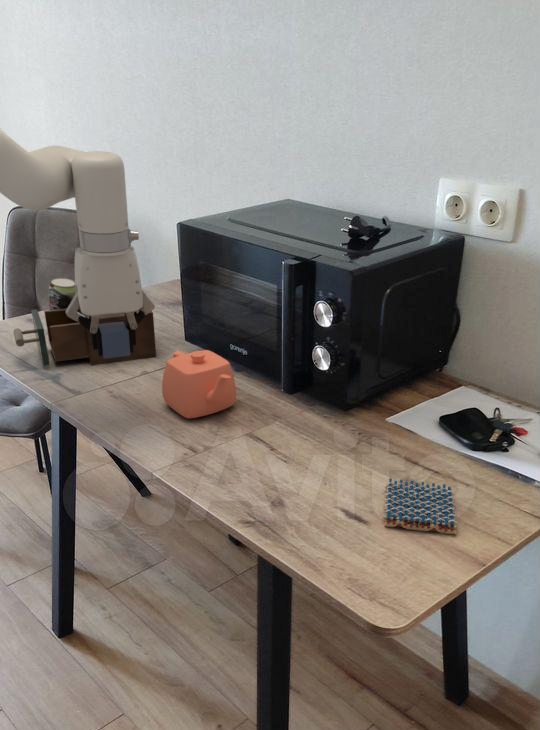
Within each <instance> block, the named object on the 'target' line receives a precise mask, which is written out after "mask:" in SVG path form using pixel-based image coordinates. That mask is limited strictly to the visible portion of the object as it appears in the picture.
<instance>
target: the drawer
mask: <svg viewBox="0 0 540 730" xmlns="http://www.w3.org/2000/svg"><path fill="white" fill-rule="evenodd" d="M30 310H31V311H30V312H31V317H32V324H33V329H25V330H21V329H20V328H14V329H13V331H12V332H13V336H14V341H15V345H16V346H17V347H21V348H22V347H23V346H25V344H31V343H36V346H37V349H38V353H39V356H40V360H41V363H42V366H43V367H47V366H48V367H49V366H50V364H51V363H50V358H49V352H48V347H47V340H46V335H45V328H44V325H43V322H42V320H41V317H40V314H39V311H38V309H37V308H36V309H30ZM66 310H67V308H65V309H56V310H49V309H48V310H44V312H43V313H44V317H45V325H46V331H47V336H48V342H49V346H50V349H51V352H52V355H53V357H54V360H55V362H63V361H72V360H78V359H79V360H80V359H88V357H89V349H88V341H87V334H86V328H85V327H84V326H83V325H81V324H80V323H79V322H77V321H75V320H73V319H71V318H69V317H68V316H67V314H66ZM77 312H79V313H80V311H79V309H78V311H77ZM80 314H81V313H80ZM29 334H34V336H35V337H33V338H26V339H24V335H29Z"/></svg>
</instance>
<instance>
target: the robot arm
mask: <svg viewBox="0 0 540 730" xmlns="http://www.w3.org/2000/svg"><path fill="white" fill-rule="evenodd" d="M126 185H127V184H126V172H125V164H124V160H123V159H122V158H121V156H119V155H118V154H117V153H114V152H109V151H101V150H100V151H99V150H96V151H95V150H93V151H83V150H78V149H75V148H71V147H67V146H63V145H49V146H44V147H41V148H39V149H34V150H32V151H31V150H30V151H28V150H26V149H25V148H24V147H22V146H21V145H20V144H18V143H17V142H16V141H15V140H14V139H12V138H11V137H10V136H9V135H8V134H7V133H6V132H4V131H3V130H2V129H1V128H0V194H1V195H2V196H4V197H5V198H6V199H8V201H10V202H12V203H13V204H15V205H16V206H19V207H21V208H22V209H23V208H24V209H26V210H29V211H36V212H37V211H39V212H40V211H43V210H46V209H49V208H51V207H53V206H54V205H57V204H59V203H61V202H64V201H68V200H71V199H74V198H75V199H74V200H75V209H76V218H77V228H78V237H79V238H78V239H79V247H76V248H75V250H74V282H75V289H76V294H75V296H74V298H73V300H72V301H71V303H70V305H69V306H68V308H67V310H66V314H67V316H68V317H69V318H71V319H73V320H75V321H77V322H79V323H80V324H81V325H83V326H84V327H85V328H87V329H88V330H89V331H90V334H91V343H92V348H93V350H96V351H97V353H98V355H99V356H102V355H103V350H102V340H101V333H100V331H99V328H98V323H99V316H100V315H108V314H118V313H124V314H125V317H126V320H127V321H126V324H125V326H126V328H127V329H128V331H129V344H130V353H131V352H133V345H136V334H135V329H136V328H137V325H138V324H139V323H140V322H141V321H142V319H143V318H144V317H145V315H147V314H148V313H149V312H151V311H152V312H153V310H154V309H155V308H156V306H155V304H154V302H152V300H151V299H150V298H149V297H148V296H147V294H146V293H145V292H144V291H143V289H142V282H141V275H140V268H139V263H138V258H137V254H136V251H135V248H134V246H133V245H132V243H133V242H134V241H138V240H140V238H139V235H140V234H139V231H138V230H133V229H132V230H131V229H130V227H129V215H128V212H129V211H128V201H127V186H126ZM79 307H80V308H81V312H82V313H83V314H85V315H88V318H87V317H86V316H85V315H83V314H80V313H79V312H77V311H78V309H79ZM133 312H134V313H133Z"/></svg>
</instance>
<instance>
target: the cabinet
mask: <svg viewBox="0 0 540 730" xmlns="http://www.w3.org/2000/svg"><path fill="white" fill-rule="evenodd" d="M79 311H80V313H81V314H83V313H82V312H81V308H80V307H79ZM133 313H134V312H133ZM83 315H85V314H83ZM85 316H86V317H87V318H88V315H85ZM126 321H127V320H126V317H125V314H124V313H118V314H108V315H100V316H99V323H98V324H104V323H114V322H124V324H126ZM86 334H87V341H88V349H89V357H88V358H87V359H88V361H89V364H90V366H95V365H96V366H97V365H103V364H110V363H111V364H112V363H117V362H118V363H119V362H127V361H132V360H134V361H135V360H141V359H148V358H149V359H150V358H155V357H157V348H156V347H157V346H156V334H155V322H154V311H153V310H152V311H151V312H149V313H148V314H147V315H145V317H144V318H143V319H142V321H141V322H140V323H139V324H138V325H137V328H136V329H135V334H136V345H133V352H131V353H130V356H123V357H114V358H105V359H104V357H103V355H102V356H99V355H98V353H97V351H96V350H93V348H92V343H91V334H90V331H89V330H88V329H87V328H86Z"/></svg>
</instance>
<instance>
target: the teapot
mask: <svg viewBox="0 0 540 730" xmlns="http://www.w3.org/2000/svg"><path fill="white" fill-rule="evenodd" d="M161 387H162V389H161V390H162V392H161V393H162V397H163V399H164V401H165V403H166V405H167V406H168V407H170V408H171V409H172V410H174V411H175V412H176V413H177V414H179V415H181V416H182V417H184V418H186V419H196V418H199V417H204V416H208V415H212V414H215V413H218V412H220V411H223V410H226V409H229V408H230V407H232V406H233V405H234V404H235V401H236V398H237V387H236V381H235V376H234V372H233V368H232V366H231V362H229V361H228V360H227V359H225V358H224V357H222V356H221V355H219V354H217V353H215V352H214V351H212V350H209V349H203V350H196V351H192V352H189V353H184V352H183V351H181V350H176V351H174V352H173V353H172V358H170V359H168V360H166V361H165V366H164V370H163V375H162V386H161Z"/></svg>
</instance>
